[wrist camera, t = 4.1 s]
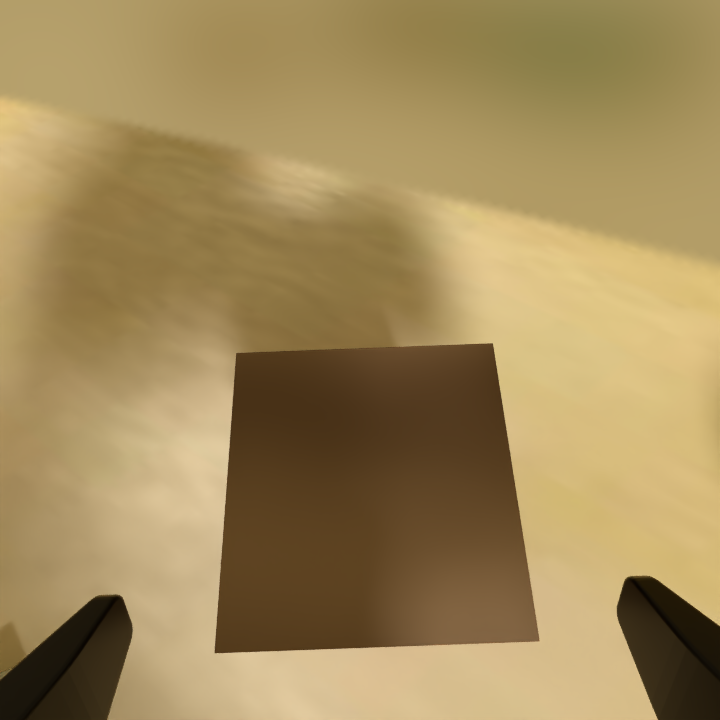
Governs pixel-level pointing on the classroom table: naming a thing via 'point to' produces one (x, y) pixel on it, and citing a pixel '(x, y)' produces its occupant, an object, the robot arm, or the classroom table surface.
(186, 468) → the classroom table surface
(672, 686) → the robot arm
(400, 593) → the walnut pillar
